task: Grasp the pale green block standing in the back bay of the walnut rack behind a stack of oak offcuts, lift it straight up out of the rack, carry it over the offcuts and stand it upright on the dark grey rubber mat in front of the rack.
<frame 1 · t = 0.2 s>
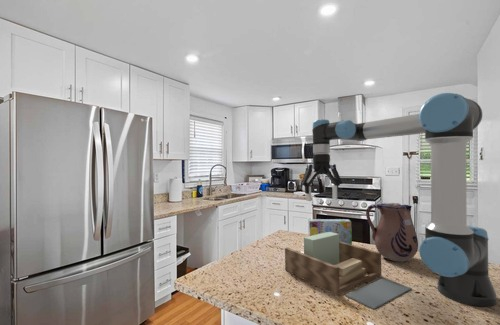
hand: (322, 200, 120), 28 cm above the counter, fingers open, 13 cm apart
pale green block: (322, 269, 110), resting in rack
snack box: (329, 249, 137), on the counter
rack: (331, 272, 106), on the counter
mat: (379, 292, 89), on the counter
offcut stack: (347, 279, 100), resting in rack
ceramic pitcher: (391, 258, 122), on the counter
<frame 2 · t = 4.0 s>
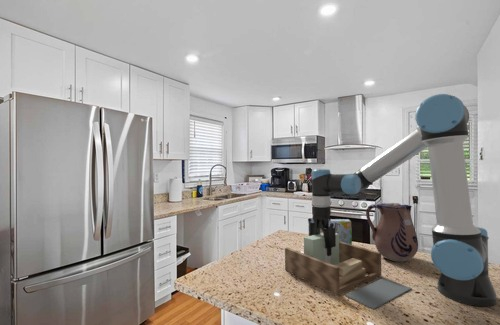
hand: (322, 260, 110), 3 cm above the counter, fingers closed on pale green block, 5 cm apart
pale green block: (322, 268, 110), resting in rack, touching gripper
everything else where it was.
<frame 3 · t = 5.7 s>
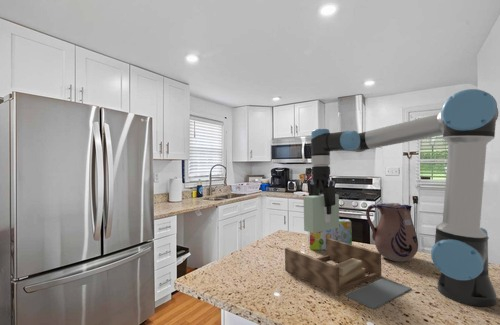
hand: (321, 220, 110), 20 cm above the counter, fingers closed on pale green block, 5 cm apart
pale green block: (322, 228, 110), point 17 cm above the counter, touching gripper
everything else where it was.
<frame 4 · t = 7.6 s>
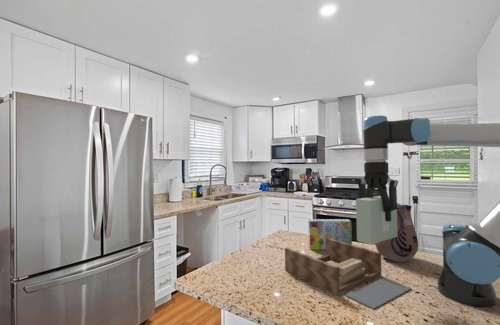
hand: (377, 229, 90), 22 cm above the counter, fingers closed on pale green block, 5 cm apart
pale green block: (377, 238, 90), point 18 cm above the counter, touching gripper
everything else where it was.
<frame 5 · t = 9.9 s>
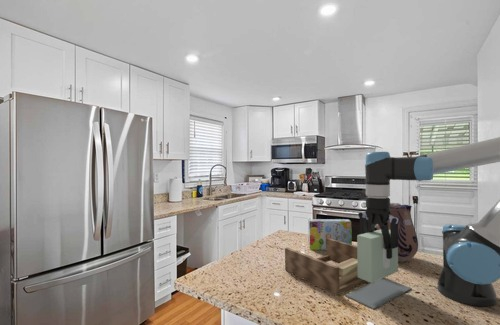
hand: (378, 264, 89), 9 cm above the counter, fingers closed on pale green block, 5 cm apart
pale green block: (378, 274, 89), point 6 cm above the counter, touching gripper
everything else where it was.
when the fingers open (5 cm above the counter, at t = 11.6 s): pale green block drops 1 cm, resting on mat.
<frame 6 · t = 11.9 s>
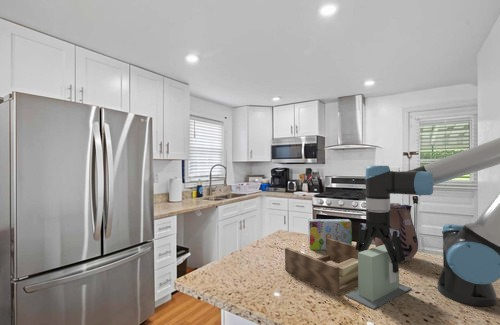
hand: (378, 276, 89), 5 cm above the counter, fingers open, 9 cm apart
pale green block: (379, 291, 89), resting on mat
everything else where it was.
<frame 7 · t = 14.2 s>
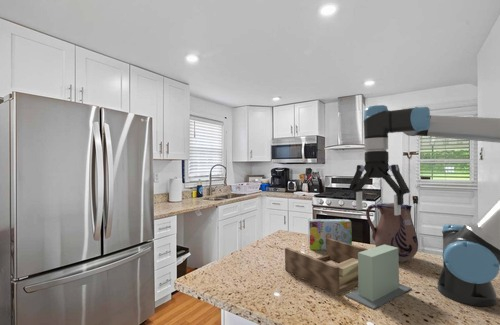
hand: (377, 212, 91), 27 cm above the counter, fingers open, 13 cm apart
nothing on the counter moved.
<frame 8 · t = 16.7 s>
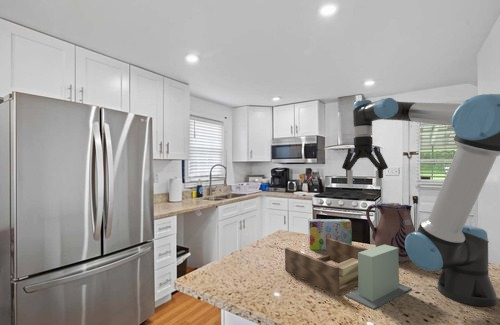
hand: (363, 185, 114), 35 cm above the counter, fingers open, 13 cm apart
nothing on the counter moved.
at the end: pale green block inside the target area (0.0 cm from its centre), resting on mat; pale green block tilted 0°; the gripper is holding nothing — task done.
